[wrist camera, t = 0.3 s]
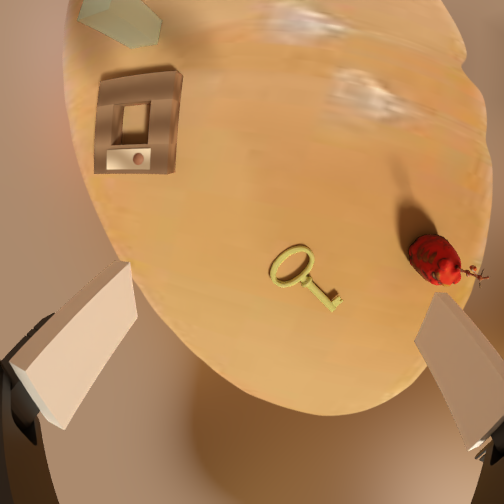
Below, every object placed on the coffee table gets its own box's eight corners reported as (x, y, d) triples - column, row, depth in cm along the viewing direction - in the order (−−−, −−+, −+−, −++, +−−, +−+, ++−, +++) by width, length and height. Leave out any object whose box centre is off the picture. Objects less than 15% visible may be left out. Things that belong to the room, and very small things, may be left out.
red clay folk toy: (398, 256, 38) (445, 308, 24) (422, 219, 35) (481, 257, 21) (425, 278, 39) (472, 329, 25) (449, 244, 36) (503, 286, 22)
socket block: (110, 84, 31) (99, 80, 28) (183, 75, 30) (175, 70, 27) (104, 171, 36) (92, 174, 33) (175, 172, 36) (166, 174, 32)
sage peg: (136, 25, 27) (86, -8, 14) (162, 20, 27) (118, -20, 14) (131, 48, 29) (76, 20, 16) (157, 44, 28) (108, 9, 15)
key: (332, 307, 42) (334, 315, 40) (264, 276, 41) (264, 283, 39) (357, 271, 40) (361, 277, 38) (287, 235, 38) (288, 240, 36)
